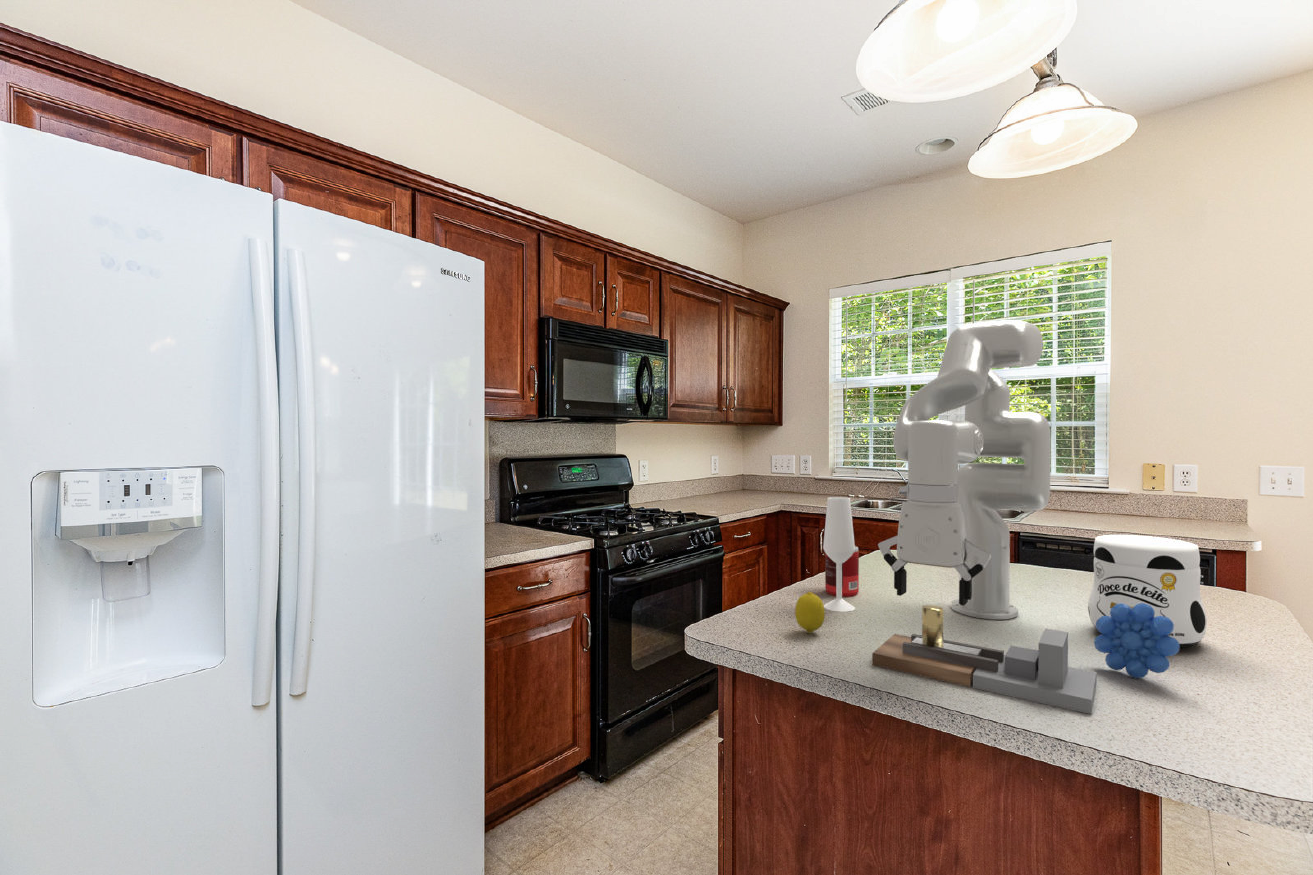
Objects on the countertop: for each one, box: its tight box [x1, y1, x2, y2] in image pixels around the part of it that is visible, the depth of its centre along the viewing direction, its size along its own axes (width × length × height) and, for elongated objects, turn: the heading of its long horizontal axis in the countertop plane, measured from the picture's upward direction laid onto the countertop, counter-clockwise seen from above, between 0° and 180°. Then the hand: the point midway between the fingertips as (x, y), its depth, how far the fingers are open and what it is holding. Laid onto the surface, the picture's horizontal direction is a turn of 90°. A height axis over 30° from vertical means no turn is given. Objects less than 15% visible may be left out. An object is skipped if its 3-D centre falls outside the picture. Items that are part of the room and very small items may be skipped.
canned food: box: [824, 545, 860, 598], centre depth 149 cm, size 8×8×11 cm
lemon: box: [794, 591, 826, 634], centre depth 120 cm, size 6×6×8 cm
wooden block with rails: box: [871, 633, 1005, 688], centre depth 103 cm, size 12×18×4 cm, turn 52°
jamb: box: [972, 628, 1097, 715], centre depth 95 cm, size 12×15×8 cm
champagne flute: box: [822, 496, 856, 613], centre depth 137 cm, size 7×7×24 cm
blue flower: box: [1093, 603, 1181, 679], centre depth 98 cm, size 12×7×12 cm, turn 27°
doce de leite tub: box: [1087, 534, 1208, 648], centre depth 116 cm, size 17×17×18 cm
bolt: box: [911, 604, 981, 657], centre depth 103 cm, size 3×10×7 cm, turn 52°
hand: (931, 598), depth 103 cm, fingers open, 9 cm apart
